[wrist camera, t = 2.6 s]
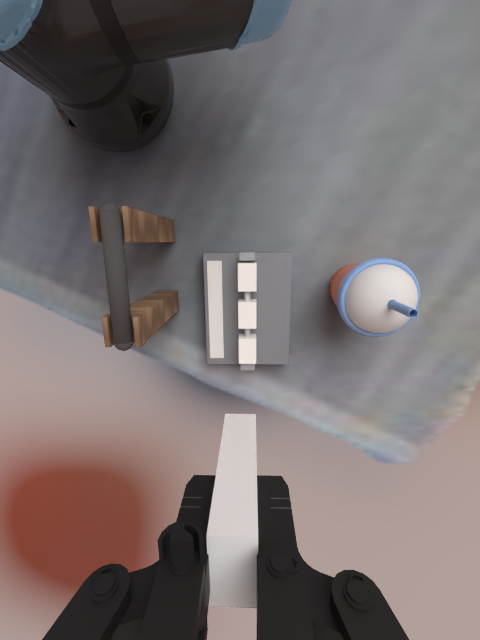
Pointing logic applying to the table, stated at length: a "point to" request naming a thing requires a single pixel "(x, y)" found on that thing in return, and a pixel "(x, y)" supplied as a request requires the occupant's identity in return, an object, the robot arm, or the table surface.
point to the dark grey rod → (116, 275)
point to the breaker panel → (269, 306)
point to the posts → (157, 305)
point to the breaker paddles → (247, 311)
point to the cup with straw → (376, 296)
